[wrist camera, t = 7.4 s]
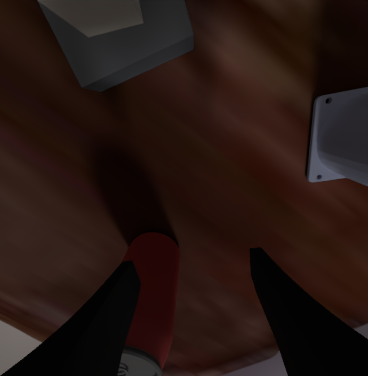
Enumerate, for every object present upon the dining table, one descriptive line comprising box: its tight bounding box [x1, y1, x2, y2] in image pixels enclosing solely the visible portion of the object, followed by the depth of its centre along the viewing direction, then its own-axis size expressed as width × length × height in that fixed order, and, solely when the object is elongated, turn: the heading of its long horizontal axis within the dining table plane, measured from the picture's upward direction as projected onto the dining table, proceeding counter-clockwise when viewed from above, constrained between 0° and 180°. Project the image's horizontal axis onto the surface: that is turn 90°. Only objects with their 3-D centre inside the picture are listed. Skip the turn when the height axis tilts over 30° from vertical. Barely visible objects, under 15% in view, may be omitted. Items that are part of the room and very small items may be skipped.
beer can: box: [117, 232, 180, 376], centre depth 18 cm, size 7×7×12 cm
